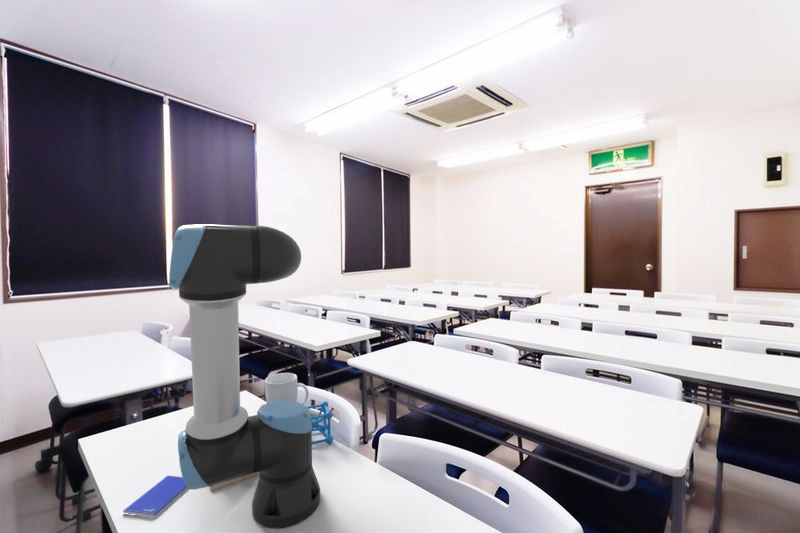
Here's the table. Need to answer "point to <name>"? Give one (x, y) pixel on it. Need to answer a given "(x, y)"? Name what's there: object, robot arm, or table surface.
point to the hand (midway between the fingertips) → (215, 366)
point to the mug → (283, 388)
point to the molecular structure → (323, 427)
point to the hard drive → (158, 497)
